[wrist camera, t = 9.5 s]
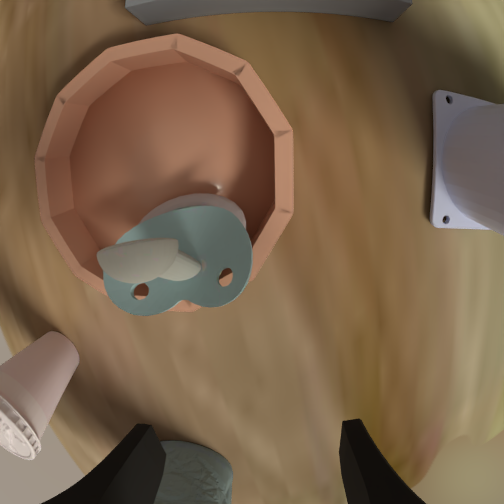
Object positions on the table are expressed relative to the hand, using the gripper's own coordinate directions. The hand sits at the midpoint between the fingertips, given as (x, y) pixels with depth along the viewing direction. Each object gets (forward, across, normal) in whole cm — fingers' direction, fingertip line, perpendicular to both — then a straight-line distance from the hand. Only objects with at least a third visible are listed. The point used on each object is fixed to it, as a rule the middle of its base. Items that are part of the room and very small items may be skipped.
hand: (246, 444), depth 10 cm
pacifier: (+7, +3, -5) cm, 9 cm away
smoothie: (+10, +16, +2) cm, 19 cm away
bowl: (+9, +4, -9) cm, 14 cm away
